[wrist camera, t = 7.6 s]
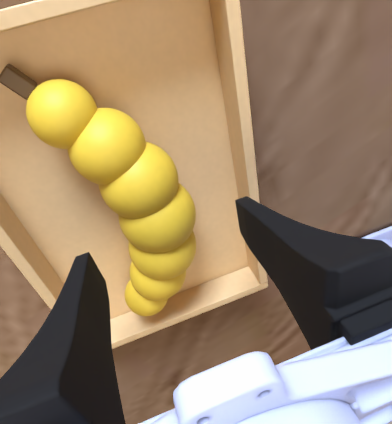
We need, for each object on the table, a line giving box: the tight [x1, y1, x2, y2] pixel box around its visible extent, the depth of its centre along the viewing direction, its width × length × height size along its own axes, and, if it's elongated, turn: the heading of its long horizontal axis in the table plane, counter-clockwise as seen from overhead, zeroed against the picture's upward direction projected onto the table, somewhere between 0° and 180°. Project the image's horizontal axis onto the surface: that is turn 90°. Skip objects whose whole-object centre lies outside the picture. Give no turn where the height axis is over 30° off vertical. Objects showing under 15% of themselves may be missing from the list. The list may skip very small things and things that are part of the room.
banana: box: [0, 64, 196, 316], centre depth 17 cm, size 16×6×4 cm, turn 12°
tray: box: [0, 0, 268, 349], centre depth 18 cm, size 19×13×2 cm
